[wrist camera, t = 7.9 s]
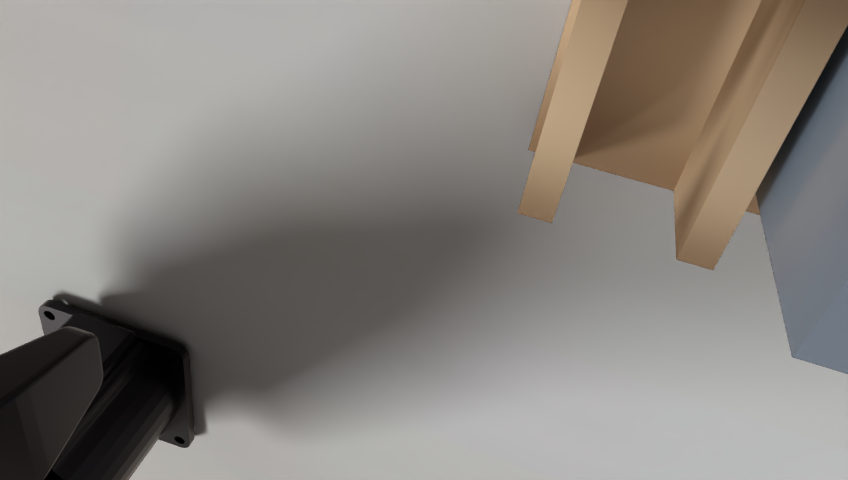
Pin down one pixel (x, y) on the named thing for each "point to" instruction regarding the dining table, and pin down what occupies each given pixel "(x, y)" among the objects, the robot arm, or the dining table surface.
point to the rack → (680, 103)
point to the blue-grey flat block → (813, 220)
